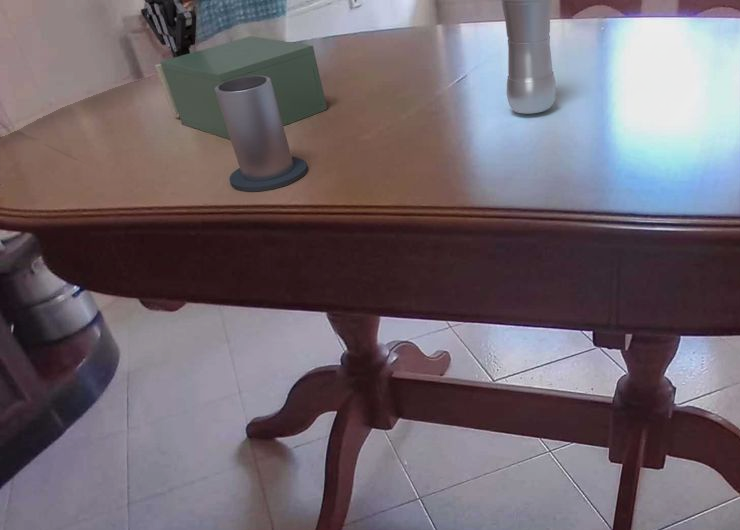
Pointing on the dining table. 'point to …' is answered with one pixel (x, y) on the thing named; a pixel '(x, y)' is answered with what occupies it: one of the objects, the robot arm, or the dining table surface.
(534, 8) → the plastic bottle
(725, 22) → the dining table surface
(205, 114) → the green box
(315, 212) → the dining table surface
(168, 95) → the drawer
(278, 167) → the gray cup
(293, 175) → the coaster
